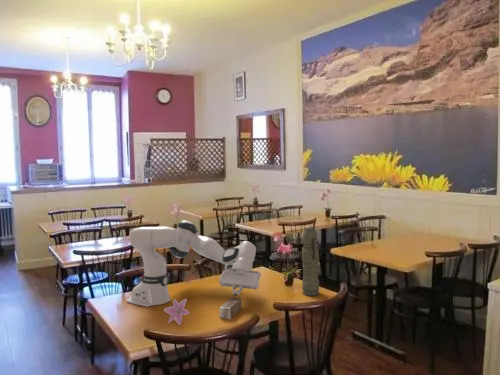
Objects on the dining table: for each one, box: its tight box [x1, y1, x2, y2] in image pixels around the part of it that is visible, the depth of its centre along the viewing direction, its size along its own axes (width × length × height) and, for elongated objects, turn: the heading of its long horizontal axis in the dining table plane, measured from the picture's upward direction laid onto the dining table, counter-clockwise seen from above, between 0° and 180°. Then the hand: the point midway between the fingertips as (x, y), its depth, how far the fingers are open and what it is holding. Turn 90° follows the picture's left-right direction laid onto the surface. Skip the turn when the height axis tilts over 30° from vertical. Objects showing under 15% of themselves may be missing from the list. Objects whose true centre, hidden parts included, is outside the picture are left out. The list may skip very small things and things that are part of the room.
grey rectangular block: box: [219, 296, 242, 320], centre depth 207 cm, size 5×5×15 cm
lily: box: [163, 298, 191, 326], centre depth 199 cm, size 12×12×10 cm
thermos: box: [301, 227, 320, 297], centre depth 232 cm, size 9×12×35 cm
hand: (235, 294), depth 213 cm, fingers closed
